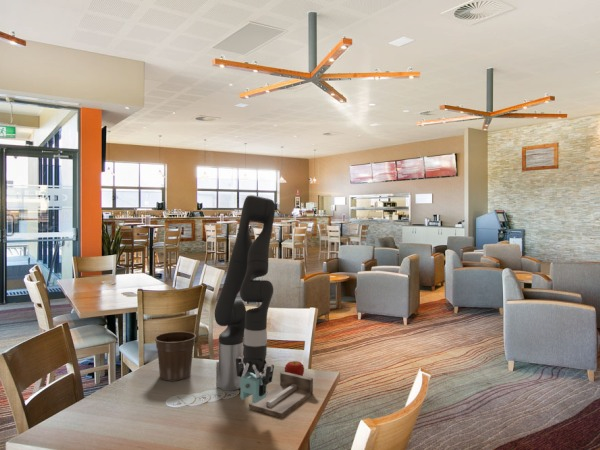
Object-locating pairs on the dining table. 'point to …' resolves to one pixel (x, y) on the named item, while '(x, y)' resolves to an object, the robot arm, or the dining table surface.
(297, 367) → the apple
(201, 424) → the dining table surface
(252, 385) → the cabinet block
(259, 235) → the robot arm
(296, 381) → the cleat board
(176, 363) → the plant pot
